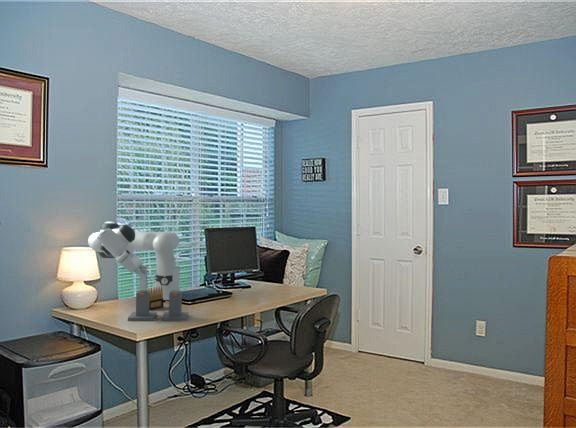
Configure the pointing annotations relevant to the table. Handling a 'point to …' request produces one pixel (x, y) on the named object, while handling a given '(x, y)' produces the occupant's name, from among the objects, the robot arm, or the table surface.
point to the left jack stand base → (142, 308)
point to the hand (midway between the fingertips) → (144, 274)
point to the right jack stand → (175, 300)
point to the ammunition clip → (156, 298)
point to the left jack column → (143, 280)
